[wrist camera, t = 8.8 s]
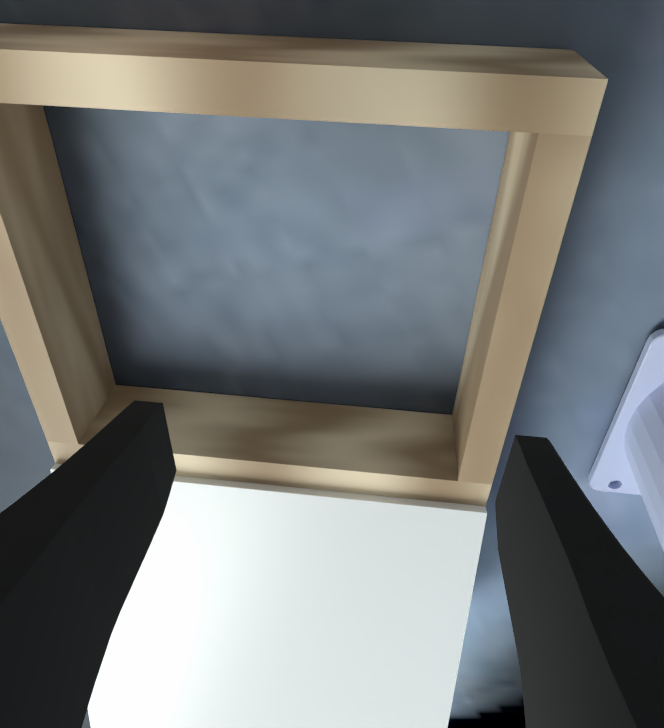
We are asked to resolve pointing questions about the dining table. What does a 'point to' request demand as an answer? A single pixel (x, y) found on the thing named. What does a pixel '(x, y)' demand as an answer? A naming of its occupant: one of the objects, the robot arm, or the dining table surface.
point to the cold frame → (285, 417)
